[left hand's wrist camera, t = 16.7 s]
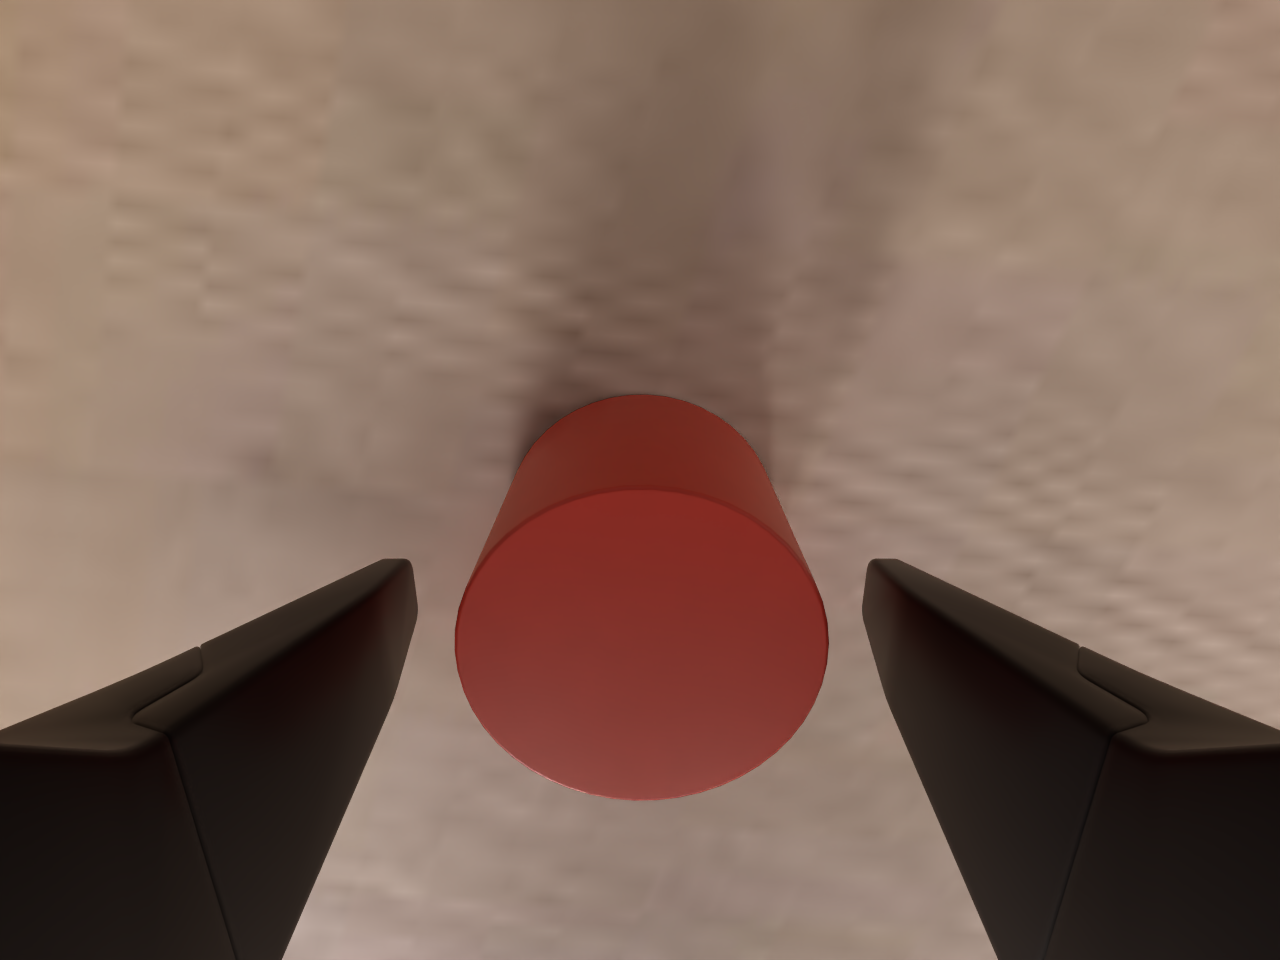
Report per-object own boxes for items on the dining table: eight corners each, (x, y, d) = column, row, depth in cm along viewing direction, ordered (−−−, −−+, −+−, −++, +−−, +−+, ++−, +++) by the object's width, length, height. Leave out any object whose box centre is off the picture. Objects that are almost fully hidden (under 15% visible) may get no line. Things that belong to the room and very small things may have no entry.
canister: (548, 655, 14) (514, 826, 10) (474, 426, 13) (400, 531, 9) (791, 609, 14) (850, 769, 10) (750, 366, 12) (802, 447, 8)
